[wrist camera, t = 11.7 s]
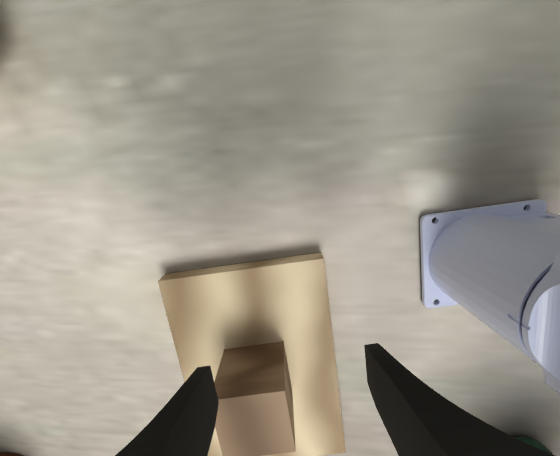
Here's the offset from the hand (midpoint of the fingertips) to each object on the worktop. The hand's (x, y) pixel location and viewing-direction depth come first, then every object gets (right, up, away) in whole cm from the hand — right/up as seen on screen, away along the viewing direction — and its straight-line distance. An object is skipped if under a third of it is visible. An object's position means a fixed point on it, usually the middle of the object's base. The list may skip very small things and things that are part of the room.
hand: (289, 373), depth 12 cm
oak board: (-2, -5, +12) cm, 13 cm away
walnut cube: (-2, -5, +10) cm, 12 cm away
